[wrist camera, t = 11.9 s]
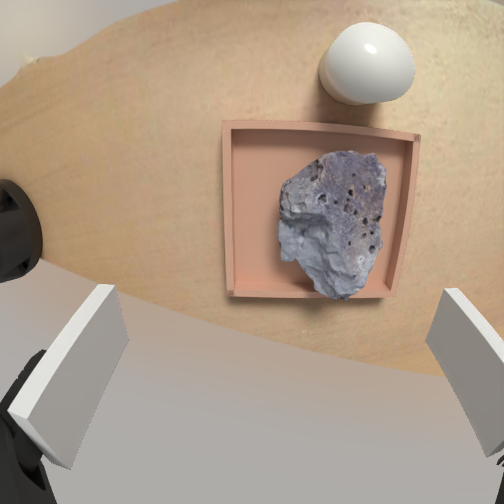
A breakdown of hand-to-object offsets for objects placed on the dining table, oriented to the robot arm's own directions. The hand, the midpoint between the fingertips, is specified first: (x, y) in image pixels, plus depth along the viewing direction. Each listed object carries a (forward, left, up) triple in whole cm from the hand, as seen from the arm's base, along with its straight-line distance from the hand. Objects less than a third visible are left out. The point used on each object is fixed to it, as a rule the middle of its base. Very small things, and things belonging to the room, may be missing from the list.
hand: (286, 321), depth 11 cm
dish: (+5, -2, -23) cm, 23 cm away
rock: (+5, -3, -22) cm, 23 cm away
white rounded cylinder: (+8, +13, -23) cm, 27 cm away
